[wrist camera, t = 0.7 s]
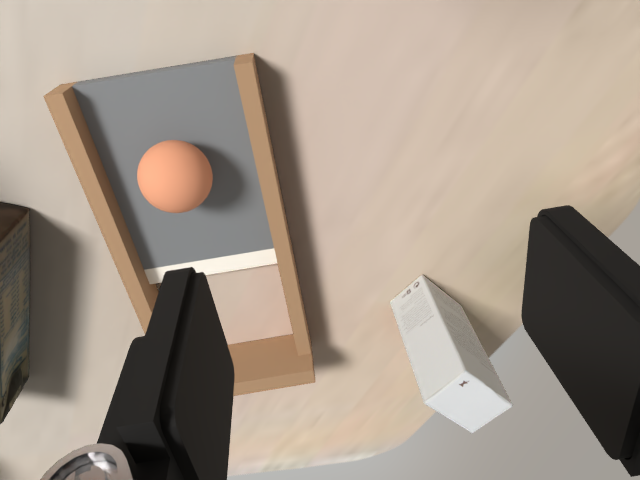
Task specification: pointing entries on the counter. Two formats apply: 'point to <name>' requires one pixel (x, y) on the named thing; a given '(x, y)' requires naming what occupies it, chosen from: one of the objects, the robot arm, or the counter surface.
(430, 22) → the counter surface
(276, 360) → the lane
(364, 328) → the counter surface
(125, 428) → the robot arm
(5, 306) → the beverage carton
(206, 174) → the ball
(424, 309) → the skincare box
